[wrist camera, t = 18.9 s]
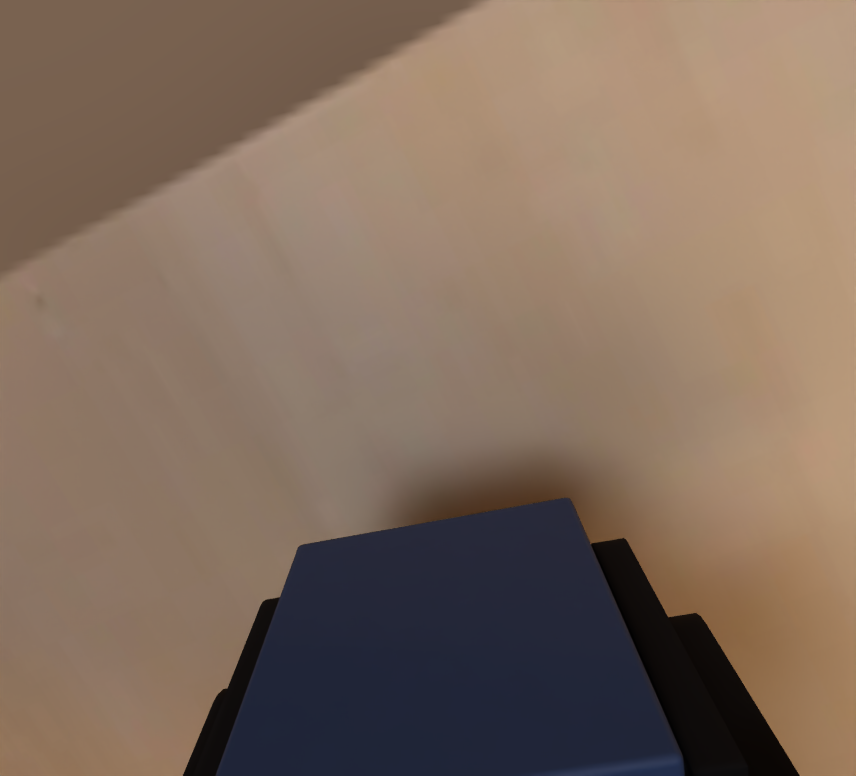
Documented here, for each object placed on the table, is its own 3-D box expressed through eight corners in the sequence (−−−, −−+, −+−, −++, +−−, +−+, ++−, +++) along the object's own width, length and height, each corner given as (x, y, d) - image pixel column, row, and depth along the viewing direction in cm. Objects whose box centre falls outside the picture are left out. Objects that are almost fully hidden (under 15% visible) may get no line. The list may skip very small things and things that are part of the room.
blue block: (363, 741, 11) (321, 1089, 7) (297, 543, 10) (191, 829, 5) (601, 705, 11) (711, 1047, 7) (570, 494, 9) (687, 758, 5)
